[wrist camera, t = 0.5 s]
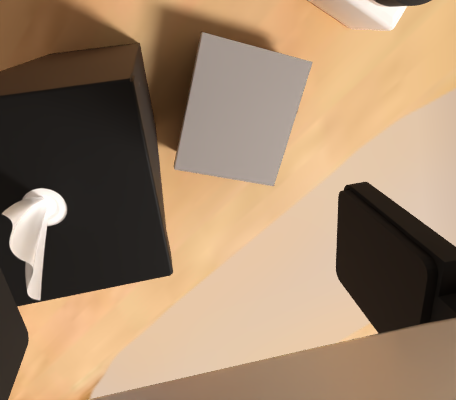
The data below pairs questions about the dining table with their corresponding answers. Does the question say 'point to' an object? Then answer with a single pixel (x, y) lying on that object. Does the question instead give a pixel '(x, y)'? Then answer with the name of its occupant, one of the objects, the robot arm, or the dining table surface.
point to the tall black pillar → (79, 175)
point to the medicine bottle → (366, 12)
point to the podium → (239, 110)
